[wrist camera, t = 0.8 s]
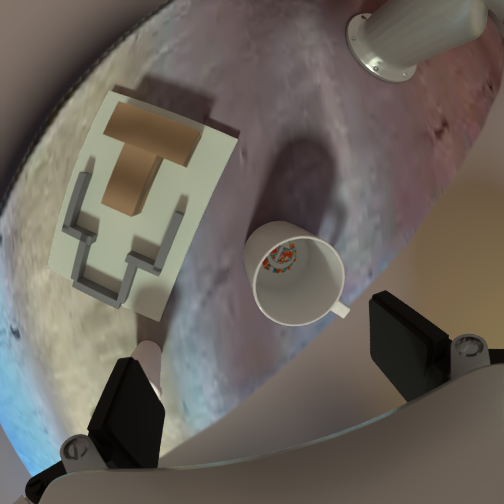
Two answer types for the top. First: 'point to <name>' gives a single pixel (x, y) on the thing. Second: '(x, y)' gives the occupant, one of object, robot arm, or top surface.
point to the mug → (293, 274)
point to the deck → (134, 218)
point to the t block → (143, 154)
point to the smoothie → (150, 363)
